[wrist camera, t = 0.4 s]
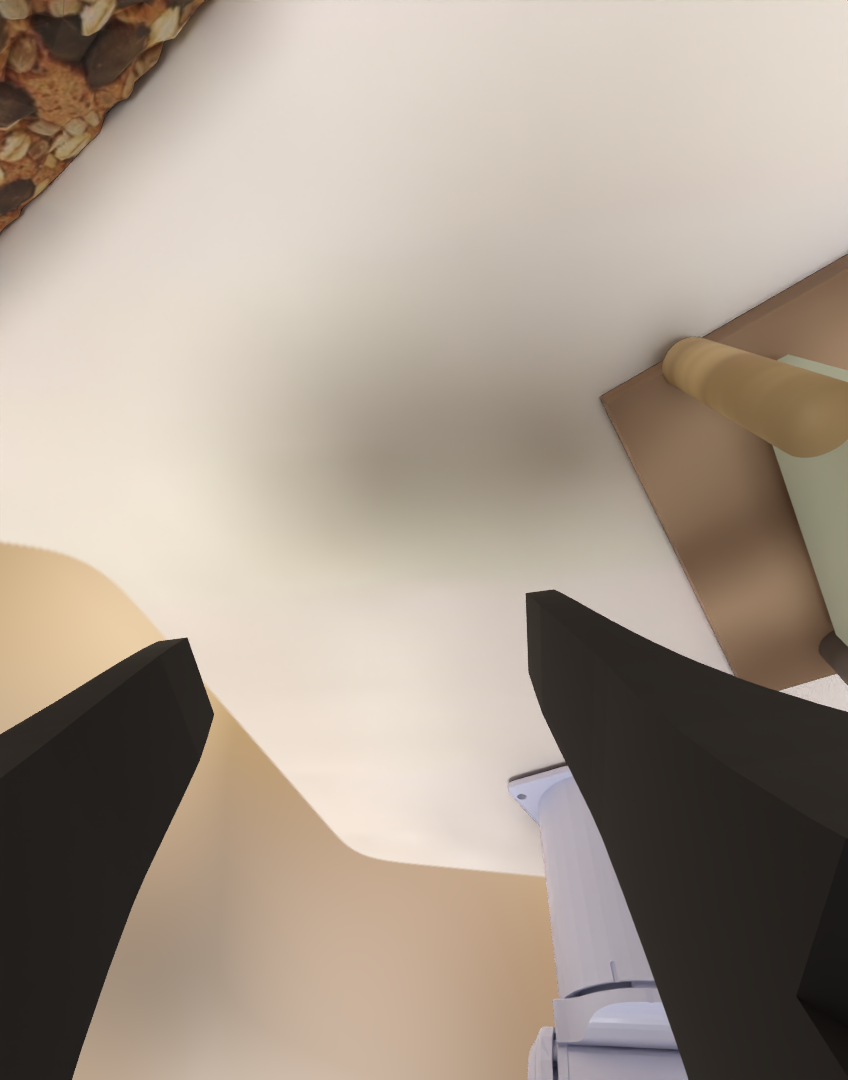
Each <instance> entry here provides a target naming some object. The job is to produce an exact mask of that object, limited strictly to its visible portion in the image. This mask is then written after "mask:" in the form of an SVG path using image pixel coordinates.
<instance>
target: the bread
mask: <svg viewBox="0 0 848 1080" xmlns="http://www.w3.org/2000/svg"><path fill="white" fill-rule="evenodd" d="M204 1H205V0H0V232H1V231H2V229H3V228H4V227H5V226H7V225H8V224H9V223H11V222H12V221H14V220H15V219H16V218H18V217H19V216H20V213H21V208H23V207H24V206H25V205H26V204H27V203H29V202H30V201H31V200H32V199H34V198H35V197H36V196H37V195H38V194H39V193H40V192H41V191H42V190H43V189H45V188H46V187H47V186H48V185H49V184H50V183H51V182H52V181H53V180H54V179H55V178H56V177H57V176H58V175H59V174H60V173H61V172H62V171H63V170H64V169H65V168H66V167H67V166H68V165H69V164H70V162H71V161H72V160H73V159H74V158H75V157H76V156H77V155H78V154H79V152H80V151H81V150H82V149H83V148H84V147H85V146H86V145H87V144H88V143H89V142H90V141H91V140H93V139H94V138H95V137H96V136H97V135H98V134H99V133H100V130H101V127H102V124H103V121H104V117H105V114H106V113H107V112H108V111H109V110H110V109H111V108H112V107H113V106H114V105H115V104H116V103H118V102H120V101H123V100H125V99H127V98H128V97H129V96H130V94H131V93H132V91H133V89H134V82H135V81H136V80H138V79H139V78H140V77H141V76H142V75H143V74H145V73H146V72H147V71H148V70H149V69H150V68H152V67H153V66H154V65H155V64H156V63H157V61H158V59H159V56H160V53H161V50H162V47H163V43H164V41H166V40H170V39H174V38H175V37H176V36H177V34H178V33H179V32H180V30H181V29H182V28H183V26H184V25H185V24H186V22H187V21H188V20H189V18H190V17H191V16H192V14H193V13H194V12H195V10H196V9H197V8H198V7H199V6H200V5H201V4H202V3H203V2H204Z"/></svg>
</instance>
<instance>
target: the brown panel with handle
mask: <svg viewBox="0 0 848 1080" xmlns="http://www.w3.org/2000/svg"><path fill="white" fill-rule="evenodd" d="M788 354H789V355H793V356H796V357H800V358H804V359H807V360H811V361H815V362H818V363H822V364H826V365H829V366H833V367H837V368H840V369H844V370H848V254H847V255H845V256H844V257H842V258H840V259H838V260H837V261H835V262H833V263H831V264H830V265H828V266H826V267H824V268H823V269H821V270H819V271H817V272H816V273H814V274H812V275H811V276H809V277H807V278H805V279H804V280H802V281H800V282H798V283H797V284H795V285H793V286H791V287H790V288H788V289H786V290H785V291H783V292H781V293H779V294H778V295H776V296H774V297H772V298H771V299H769V300H767V301H765V302H764V303H762V304H760V305H758V306H757V307H755V308H753V309H752V310H750V311H748V312H746V313H745V314H743V315H741V316H739V317H738V318H736V319H734V320H732V321H731V322H729V323H727V324H726V325H724V326H722V327H720V328H719V329H717V330H715V331H713V332H712V333H710V334H708V335H706V336H705V337H703V338H701V337H688V338H685V339H682V340H681V341H679V342H677V343H676V344H675V345H673V346H672V347H671V348H670V350H669V351H668V352H667V354H666V356H665V358H664V360H663V361H661V362H660V363H658V364H656V365H654V366H653V367H651V368H649V369H647V370H646V371H644V372H642V373H640V374H639V375H637V376H635V377H634V378H632V379H630V380H628V381H627V382H625V383H623V384H621V385H620V386H618V387H616V388H614V389H613V390H611V391H609V392H607V393H606V394H604V395H602V396H601V397H600V398H601V400H602V403H603V405H604V407H605V409H606V411H607V413H608V415H609V417H610V419H611V421H612V423H613V425H614V427H615V429H616V431H617V433H618V436H619V438H620V440H621V442H622V444H623V446H624V448H625V450H626V452H627V454H628V456H629V458H630V460H631V462H632V464H633V466H634V469H635V471H636V473H637V475H638V477H639V479H640V481H641V483H642V485H643V487H644V489H645V491H646V493H647V495H648V497H649V499H650V502H651V504H652V506H653V508H654V510H655V512H656V514H657V516H658V518H659V520H660V522H661V524H662V526H663V528H664V530H665V532H666V535H667V537H668V539H669V541H670V543H671V545H672V547H673V549H674V551H675V553H676V555H677V557H678V559H679V561H680V563H681V565H682V568H683V570H684V572H685V574H686V576H687V578H688V580H689V582H690V584H691V586H692V588H693V590H694V592H695V594H696V596H697V598H698V601H699V603H700V605H701V607H702V609H703V611H704V613H705V615H706V617H707V619H708V621H709V623H710V625H711V627H712V629H713V631H714V634H715V636H716V638H717V640H718V642H719V644H720V646H721V648H722V650H723V652H724V654H725V656H726V658H727V660H728V662H729V664H730V667H731V669H732V671H733V673H734V675H735V677H738V678H740V679H743V680H746V681H749V682H752V683H755V684H757V685H760V686H763V687H766V688H769V689H772V690H776V691H779V690H783V689H786V688H790V687H793V686H796V685H800V684H803V683H807V682H810V681H813V680H817V679H820V678H823V677H827V676H830V675H834V674H838V675H839V676H840V677H841V678H842V680H843V681H844V682H845V683H846V684H847V685H848V646H847V645H846V644H845V643H844V642H843V641H842V640H841V639H840V638H839V637H838V636H837V635H836V633H835V630H834V627H833V624H832V621H831V618H830V615H829V612H828V609H827V606H826V603H825V600H824V597H823V595H822V592H821V589H820V586H819V583H818V580H817V577H816V574H815V571H814V568H813V565H812V562H811V559H810V556H809V553H808V550H807V547H806V544H805V541H804V538H803V535H802V532H801V529H800V526H799V523H798V520H797V517H796V514H795V511H794V508H793V505H792V502H791V499H790V496H789V493H788V490H787V487H786V484H785V481H784V478H783V475H782V472H781V469H780V466H779V463H778V460H777V458H776V455H775V452H774V449H773V446H775V447H777V448H779V449H780V450H782V451H784V452H785V453H787V454H789V455H791V456H794V457H800V458H810V457H816V456H820V455H823V454H825V453H828V452H830V451H832V450H834V449H836V448H837V447H839V446H840V445H842V444H843V443H844V442H846V441H847V440H848V382H845V381H842V380H839V379H836V378H832V377H829V376H826V375H823V374H819V373H816V372H813V371H809V370H806V369H803V368H800V367H796V366H793V365H790V364H786V363H783V362H780V361H777V360H778V359H780V358H782V357H784V356H786V355H788ZM772 445H773V446H772Z"/></svg>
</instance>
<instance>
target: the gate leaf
mask: <svg viewBox="0 0 848 1080" xmlns="http://www.w3.org/2000/svg"><path fill="white" fill-rule="evenodd" d="M777 361H780V362H783V363H786V364H790V365H793V366H796V367H800V368H803V369H806V370H809V371H813V372H816V373H819V374H823V375H826V376H829V377H832V378H836V379H839V380H842V381H845V382H848V370H844V369H840V368H837V367H833V366H829V365H826V364H822V363H818V362H815V361H811V360H807V359H804V358H800V357H796V356H793V355H789V354H788V355H786V356H784V357H782V358H780V359H778V360H777ZM772 446H773V445H772ZM773 449H774V452H775V455H776V458H777V460H778V463H779V466H780V469H781V472H782V475H783V478H784V481H785V484H786V487H787V490H788V493H789V496H790V499H791V502H792V505H793V508H794V511H795V514H796V517H797V520H798V523H799V526H800V529H801V532H802V535H803V538H804V541H805V544H806V547H807V550H808V553H809V556H810V559H811V562H812V565H813V568H814V571H815V574H816V577H817V580H818V583H819V586H820V589H821V592H822V595H823V597H824V600H825V603H826V606H827V609H828V612H829V615H830V618H831V621H832V624H833V627H834V630H835V633H836V635H837V636H838V637H839V638H840V639H841V640H842V641H843V642H844V643H845V644H846V645H847V646H848V440H847V441H846V442H844V443H843V444H842V445H840V446H839V447H837V448H836V449H834V450H832V451H830V452H828V453H825V454H823V455H820V456H816V457H810V458H800V457H794V456H791V455H789V454H787V453H785V452H784V451H782V450H780V449H779V448H777V447H775V446H773Z"/></svg>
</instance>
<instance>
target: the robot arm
mask: <svg viewBox="0 0 848 1080" xmlns="http://www.w3.org/2000/svg"><path fill="white" fill-rule="evenodd" d="M526 614H527V642H528V670H529V675H530V678H531V681H532V684H533V687H534V690H535V693H536V696H537V699H538V702H539V705H540V708H541V711H542V713H543V716H544V718H545V720H546V722H547V724H548V726H549V728H550V730H551V732H552V734H553V736H554V739H555V741H556V743H557V745H558V747H559V749H560V751H561V753H562V755H563V757H564V759H565V761H566V763H567V766H563V767H560V768H556V769H553V770H549V771H546V772H542V773H539V774H535V775H532V776H528V777H525V778H521V779H518V780H514V781H512V782H510V783H509V784H508V792H509V793H510V794H511V796H512V797H513V798H514V799H515V800H516V801H517V802H518V803H519V804H520V805H521V806H522V808H523V809H524V810H525V811H526V812H527V813H528V814H529V815H530V816H531V817H532V818H533V820H534V821H535V822H536V823H537V824H538V825H539V826H540V833H541V842H542V851H543V859H544V868H545V877H546V886H547V894H548V904H549V912H550V921H551V930H552V939H553V947H554V957H555V966H556V975H557V984H558V992H559V999H553V1012H554V1021H555V1028H554V1027H547V1026H544V1027H541V1029H540V1031H539V1033H538V1037H537V1039H536V1040H535V1042H534V1044H533V1046H532V1047H531V1049H530V1053H529V1060H528V1080H848V712H846V711H842V710H838V709H835V708H831V707H828V706H824V705H821V704H817V703H814V702H811V701H808V700H804V699H801V698H798V697H795V696H792V695H788V694H785V693H782V692H779V691H776V690H772V689H769V688H766V687H763V686H760V685H757V684H755V683H752V682H749V681H746V680H743V679H740V678H738V677H735V676H732V675H730V674H727V673H725V672H722V671H719V670H717V669H714V668H712V667H709V666H707V665H704V664H701V663H699V662H696V661H694V660H692V659H689V658H687V657H685V656H682V655H680V654H678V653H676V652H674V651H671V650H669V649H667V648H665V647H663V646H661V645H659V644H656V643H654V642H652V641H650V640H648V639H646V638H644V637H642V636H640V635H638V634H636V633H634V632H632V631H630V630H628V629H626V628H624V627H622V626H621V625H619V624H617V623H615V622H613V621H611V620H609V619H608V618H606V617H604V616H602V615H600V614H598V613H597V612H595V611H593V610H591V609H590V608H588V607H586V606H584V605H582V604H581V603H579V602H577V601H575V600H573V599H572V598H570V597H568V596H566V595H564V594H562V593H560V592H558V591H556V590H547V591H539V592H532V593H526ZM213 716H214V713H213V710H212V707H211V704H210V701H209V699H208V695H207V693H206V690H205V687H204V684H203V681H202V678H201V675H200V673H199V670H198V667H197V664H196V661H195V658H194V655H193V653H192V650H191V647H190V644H189V641H188V638H180V639H173V640H165V641H158V642H156V643H154V644H152V645H150V646H148V647H146V648H144V649H142V650H140V651H138V652H137V653H135V654H133V655H131V656H130V657H128V658H126V659H124V660H123V661H121V662H119V663H118V664H116V665H114V666H113V667H111V668H110V669H108V670H106V671H105V672H103V673H101V674H100V675H98V676H97V677H95V678H93V679H92V680H90V681H89V682H87V683H85V684H84V685H82V686H80V687H79V688H77V689H76V690H74V691H72V692H71V693H69V694H68V695H66V696H64V697H63V698H61V699H59V700H58V701H56V702H55V703H53V704H51V705H49V706H48V707H46V708H44V709H43V710H41V711H39V712H38V713H36V714H34V715H32V716H31V717H29V718H27V719H26V720H24V721H22V722H21V723H19V724H17V725H15V726H14V727H12V728H11V729H9V730H7V731H5V732H4V733H2V734H0V1080H72V1078H73V1074H74V1071H75V1068H76V1064H77V1061H78V1058H79V1055H80V1052H81V1049H82V1046H83V1043H84V1040H85V1037H86V1034H87V1031H88V1028H89V1025H90V1022H91V1020H92V1017H93V1014H94V1011H95V1008H96V1005H97V1002H98V999H99V996H100V993H101V990H102V987H103V984H104V982H105V979H106V976H107V973H108V970H109V967H110V965H111V962H112V959H113V957H114V954H115V951H116V948H117V946H118V943H119V940H120V938H121V935H122V932H123V930H124V927H125V924H126V922H127V919H128V916H129V913H130V911H131V908H132V905H133V903H134V901H135V898H136V896H137V894H138V891H139V889H140V887H141V885H142V882H143V879H144V878H145V875H146V873H147V871H148V869H149V867H150V865H151V863H152V861H153V859H154V856H155V854H156V852H157V850H158V848H159V846H160V844H161V842H162V840H163V837H164V835H165V833H166V831H167V829H168V827H169V825H170V823H171V820H172V818H173V816H174V814H175V812H176V810H177V808H178V806H179V804H180V802H181V800H182V798H183V796H184V793H185V791H186V789H187V787H188V785H189V783H190V780H191V778H192V776H193V774H194V772H195V770H196V767H197V765H198V763H199V761H200V758H201V755H202V752H203V749H204V746H205V743H206V740H207V737H208V734H209V730H210V727H211V723H212V720H213Z"/></svg>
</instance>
